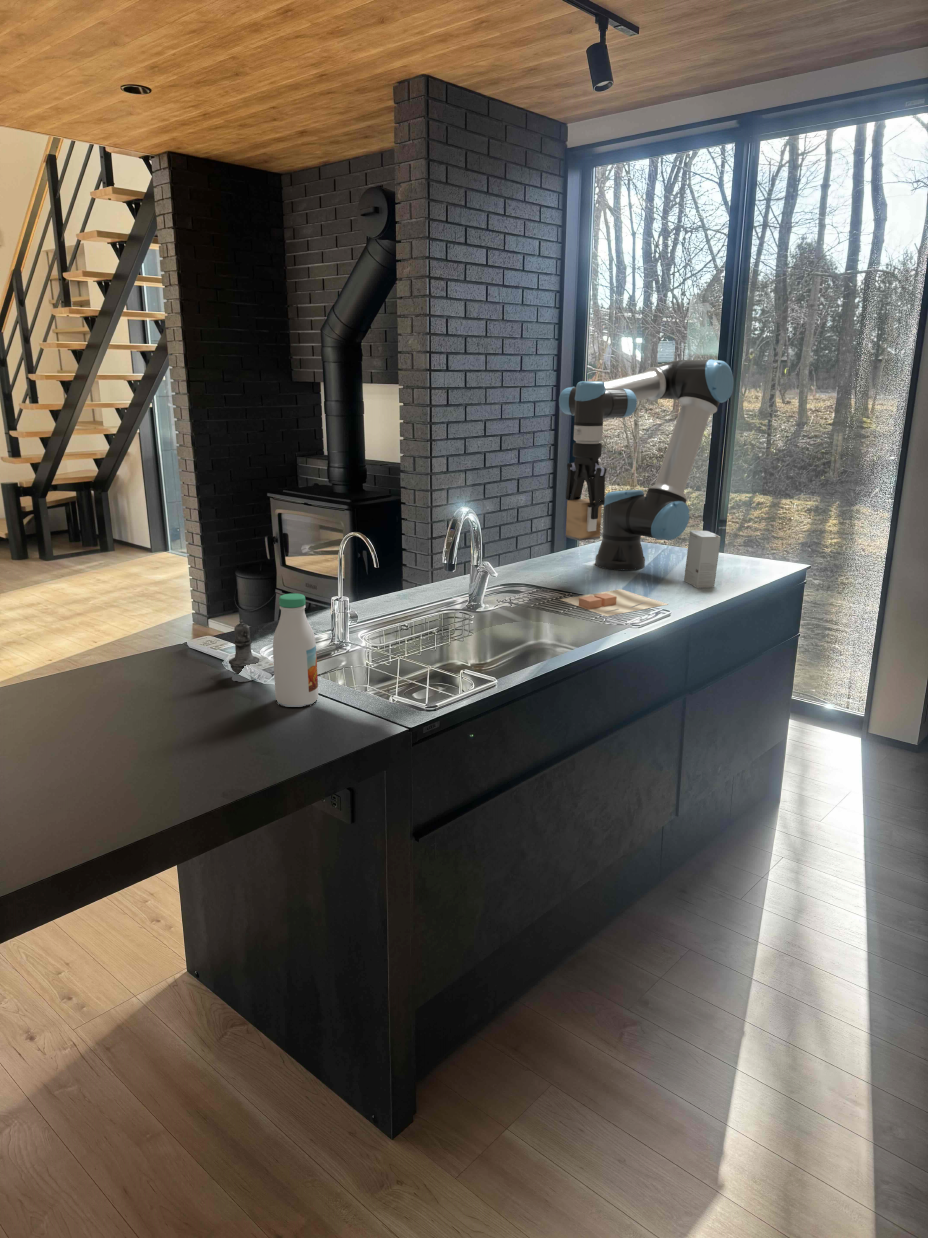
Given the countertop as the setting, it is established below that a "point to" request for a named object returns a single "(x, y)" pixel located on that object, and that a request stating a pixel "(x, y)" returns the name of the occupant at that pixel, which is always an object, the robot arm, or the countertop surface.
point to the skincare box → (702, 559)
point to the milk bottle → (294, 654)
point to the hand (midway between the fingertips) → (583, 528)
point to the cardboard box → (580, 520)
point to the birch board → (620, 603)
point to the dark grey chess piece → (242, 648)
